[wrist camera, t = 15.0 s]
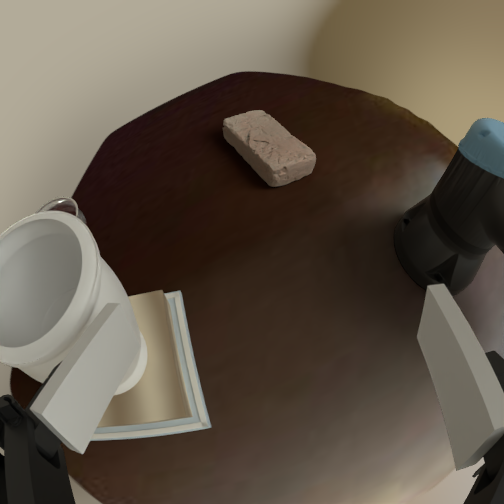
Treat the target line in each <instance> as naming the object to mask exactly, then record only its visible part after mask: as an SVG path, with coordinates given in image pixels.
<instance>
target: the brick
mask: <svg viewBox="0 0 504 504" xmlns="http://www.w3.org/2000/svg"><path fill="white" fill-rule="evenodd" d="M223 125H224V128H223V133H224V138H225V139H226V140H227V142H228V143H229V144H230V145H232V146H233V147H235V149H236V150H237V152H238V153H239V154H240V155H241V156H243V158H244V160H245V161H247V163H248V164H250V165H251V167H252V168H253V169H254V170H255V171H256V172H257V174H258V175H259V176H260V177H261V178H262V179H263V180H264V181H265V182H267V184H268V185H269V186H272V187H276V186H282V185H286V184H289V183H290V182H292V181H295V180H299V179H301V178H302V177H304V176H307V175H309V174H310V173H312V170H313V168H314V166H315V161H316V156H315V153H313V151H312V150H311V149H310V148H309V147H308V146H306V145H305V144H304V143H302V142H301V141H299V140H298V139H297V138H295V137H294V136H292V135H290V133H289V132H288V131H287V130H286V129H285V128H284V127H283V126H281V125H280V124H279V123H278V122H277V121H276V120H275V119H274V118H272V117H270V115H268V114H266V113H265V112H264V111H262V110H255V111H249V112H247V113H245V114H244V113H243V114H240V115H236V116H233V117H231V118H227V119H225V120H224V123H223Z"/></svg>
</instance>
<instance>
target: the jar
mask: <svg viewBox="0 0 504 504" xmlns="http://www.w3.org/2000/svg"><path fill="white" fill-rule="evenodd" d="M107 303H120V304H121V307H122V309H123V311H124V313H125V315H126V318H127V320H128V322H129V324H130V326H131V328H132V330H133V332H134V334H135V336H136V338H137V340H138V342H139V344H140V346H141V347H140V349H139V350H138V352H137V354H136V356H135V358H134V359H133V361H132V363H131V365H130V366H129V368H128V370H127V372H126V374H125V375H124V377H123V379H122V381H121V383H120V385H119V386H118V388H117V390H116V392H115V394H114V395H118V394H122V393H124V392H126V391H128V390H130V389H131V388H132V387H134V386H135V385H136V384H137V383H138V381H139V380H140V379H141V377H142V375H143V373H144V371H145V368H146V364H147V356H148V354H147V346H146V342H145V339H144V337H143V335H142V333H141V332H140V330H139V327H138V324H137V321H136V318H135V315H134V312H133V309H132V306H131V303H130V300H129V298H128V296H127V294H126V292H125V290H124V288H123V286H122V284H121V283H120V281H119V279H118V278H117V276H116V275H115V273H114V272H113V271H112V269H111V268H110V267H109V266H108V264H107V263H106V262H105V261H104V260H103V259H102V258H101V257H100V253H99V249H98V246H97V243H96V241H95V239H94V237H93V235H92V234H91V232H90V230H89V228H88V227H87V226H86V225H85V224H84V223H83V222H82V221H81V220H80V219H79V218H77V217H76V216H74V215H72V214H69V213H66V212H62V211H44V212H39V213H35V214H32V215H30V216H27V217H25V218H23V219H21V220H20V221H18V222H16V223H15V224H13V225H12V226H10V227H9V228H8V229H6V230H5V231H4V232H3V233H2V234H1V235H0V362H1V363H3V364H6V365H8V366H11V367H17V368H19V369H21V370H22V371H23V372H25V373H26V374H27V375H29V376H30V377H32V378H34V379H35V380H37V381H39V382H41V383H43V382H44V381H45V380H46V378H48V375H49V374H50V373H51V371H52V370H53V368H54V367H55V366H57V365H58V364H59V363H60V362H61V361H63V360H64V358H65V357H66V356H67V354H68V353H69V352H70V350H71V349H72V348H73V346H74V345H75V344H76V342H77V341H78V340H79V338H80V337H81V336H82V334H83V333H84V332H85V330H86V329H87V328H88V327H89V325H90V324H91V323H92V321H93V320H94V319H95V318H96V316H97V315H98V314H99V313H100V311H101V310H102V309H103V308H104V306H105V305H106V304H107Z"/></svg>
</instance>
